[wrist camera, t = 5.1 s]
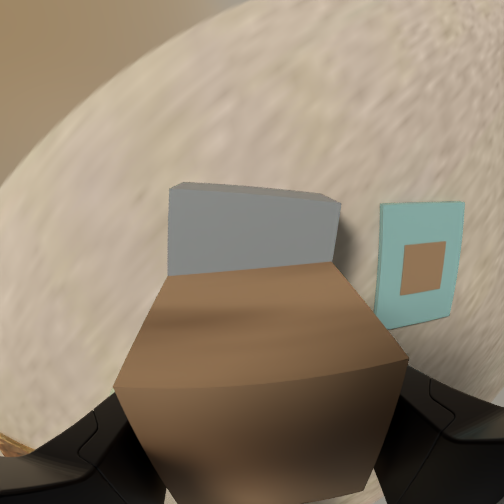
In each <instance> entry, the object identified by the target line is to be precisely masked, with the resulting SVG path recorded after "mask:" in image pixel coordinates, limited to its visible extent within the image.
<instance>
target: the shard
mask: <svg viewBox="0 0 504 504" xmlns="http://www.w3.org/2000/svg"><path fill="white" fill-rule="evenodd" d="M0 450H1V452H2V453H3V455H4V456H5V457H19V456H23V455H26V454H29V453H31V452H32V451H34V449H32V448H29V447H27V446H25V445H23V444H20V443H18V442H16V441H14V440H13V439H11V438H9V437H7V436H5V435H3V434H2V433H0Z"/></svg>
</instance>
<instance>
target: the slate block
mask: <svg viewBox="0 0 504 504" xmlns="http://www.w3.org/2000/svg"><path fill="white" fill-rule="evenodd" d="M340 209H341V203H339V202H337V201H335V200H333V199H331V198H329V197H327V196H325V195H323V194H319V193H310V192H302V191H292V190H283V189H273V188H262V187H250V186H238V185H225V184H210V183H193V182H182V183H180V184H178V185H176V186H174V187H172V188H170V189H169V213H168V276H175V275H188V274H200V273H212V272H223V271H235V270H246V269H257V268H268V267H279V266H290V265H300V264H310V263H320V262H330V261H331V262H332V260H333V254H334V248H335V242H336V236H337V229H338V223H339V216H340Z"/></svg>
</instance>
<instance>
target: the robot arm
mask: <svg viewBox="0 0 504 504" xmlns="http://www.w3.org/2000/svg"><path fill="white" fill-rule="evenodd" d="M374 470H375V473H376V475H377V478H378V480H379V483H380V486H381V488H382V491H383V494H384V496H385V499H386V502H387V504H504V407H500V406H497V405H494V404H492V403H489V402H486V401H484V400H481V399H478V398H476V397H473V396H470V395H468V394H465V393H463V392H461V391H458V390H456V389H453V388H451V387H449V386H447V385H445V384H443V383H441V382H439V381H437V380H435V379H433V378H430V377H429V376H427V375H425V374H423V373H421V372H420V371H418V370H416V369H414V368H412V367H410V366H408V365H407V369H406V373H405V377H404V380H403V384H402V388H401V391H400V395H399V398H398V401H397V404H396V408H395V411H394V414H393V417H392V420H391V423H390V426H389V429H388V432H387V434H386V437H385V440H384V443H383V445H382V448H381V450H380V453H379V455H378V458H377V460H376V463H375V465H374ZM166 488H167V487H166V486H165V484H164V482H163V481H162V479H161V478H160V476H159V474H158V473H157V471H156V470H155V468H154V466H153V465H152V463H151V461H150V459H149V458H148V456H147V454H146V452H145V451H144V449H143V447H142V445H141V443H140V442H139V440H138V438H137V436H136V434H135V432H134V430H133V428H132V426H131V424H130V422H129V420H128V418H127V416H126V414H125V412H124V410H123V408H122V406H121V404H120V402H119V399H118V397H117V395H116V393H115V392H114V393H113V394H111V395H110V396H109V397H108V398H107V399H105V400H104V401H103V402H102V403H100V404H99V405H98V406H97V407H96V408H94V411H93V410H92V411H91V412H89V413H88V414H87V415H86V416H84V417H83V418H82V419H80V420H79V421H78V422H77V423H75V424H74V425H73V426H71V427H70V428H68V429H67V430H65V431H64V432H62V433H61V434H59V435H58V436H56V437H55V438H53V439H52V440H50V441H48V442H47V443H45V444H44V445H42V446H41V447H39V448H37V449H36V450H34V451H32V452H31V453H29V454H26V455H23V456H19V457H1V456H0V504H164V500H165V494H166Z"/></svg>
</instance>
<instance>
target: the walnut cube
mask: <svg viewBox="0 0 504 504" xmlns="http://www.w3.org/2000/svg"><path fill="white" fill-rule="evenodd" d="M408 361H409V357H408V356H407V355H406V353H405V352H404V351H403V349H402V348H401V347H400V346H399V344H398V343H397V342H396V340H395V339H394V338H393V336H392V335H391V334H390V333H389V331H388V330H387V329H386V328H385V326H384V325H383V324H382V322H381V321H380V320H379V319H378V317H377V316H376V315H375V314H374V312H373V311H372V310H371V309H370V308H369V306H368V305H367V304H366V303H365V301H364V300H363V299H362V298H361V296H360V295H359V294H358V293H357V292H356V290H355V289H354V288H353V287H352V285H351V284H350V283H349V282H348V281H347V279H346V278H345V277H344V276H343V275H342V274H341V272H340V271H339V270H338V269H337V268H336V266H335V265H334V264H333V263H332V262H331V261H330V262H320V263H310V264H300V265H290V266H279V267H268V268H257V269H246V270H235V271H223V272H212V273H200V274H188V275H175V276H168V277H167V279H166V280H165V282H164V284H163V286H162V288H161V290H160V292H159V294H158V296H157V297H156V299H155V301H154V303H153V305H152V307H151V309H150V311H149V313H148V315H147V317H146V319H145V321H144V323H143V325H142V327H141V329H140V331H139V333H138V335H137V337H136V339H135V341H134V343H133V345H132V347H131V349H130V351H129V353H128V355H127V357H126V359H125V362H124V364H123V366H122V368H121V370H120V372H119V374H118V376H117V379H116V381H115V383H114V385H113V388H114V391H115V393H116V395H117V397H118V399H119V402H120V404H121V406H122V408H123V410H124V412H125V414H126V416H127V418H128V420H129V422H130V424H131V426H132V428H133V430H134V432H135V434H136V436H137V438H138V440H139V442H140V443H141V445H142V447H143V449H144V451H145V452H146V454H147V456H148V458H149V459H150V461H151V463H152V465H153V466H154V468H155V470H156V471H157V473H158V474H159V476H160V478H161V479H162V481H163V482H164V484H165V486H166V487H167V489H168V490H169V492H170V493H171V495H172V496H173V498H174V499H175V501H176V502H177V504H302V503H308V502H314V501H320V500H325V499H330V498H335V497H339V496H344V495H348V494H352V493H356V492H360V491H363V490H364V488H365V486H366V484H367V481H368V479H369V477H370V475H371V472H372V470H373V468H374V465H375V463H376V460H377V458H378V455H379V453H380V450H381V448H382V445H383V443H384V440H385V437H386V434H387V432H388V429H389V426H390V423H391V420H392V417H393V414H394V411H395V408H396V404H397V401H398V398H399V395H400V391H401V388H402V384H403V380H404V377H405V373H406V369H407V365H408Z"/></svg>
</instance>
